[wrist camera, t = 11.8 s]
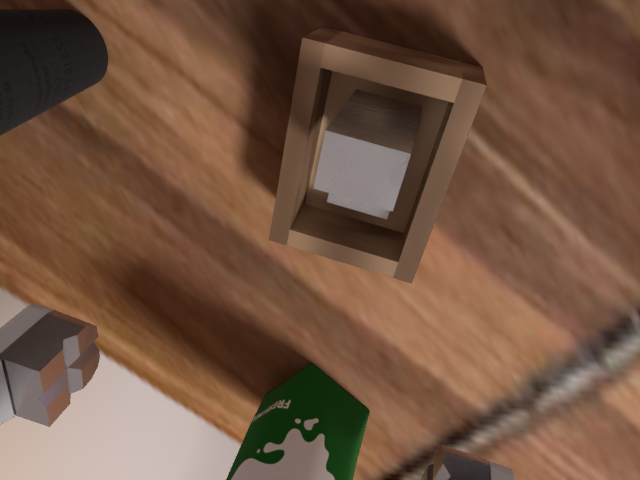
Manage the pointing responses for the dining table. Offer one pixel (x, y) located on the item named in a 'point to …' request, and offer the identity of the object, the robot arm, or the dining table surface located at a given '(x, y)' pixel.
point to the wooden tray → (424, 164)
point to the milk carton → (303, 432)
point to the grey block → (367, 153)
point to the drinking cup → (45, 61)
